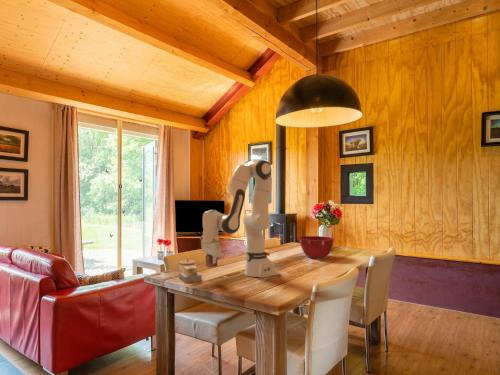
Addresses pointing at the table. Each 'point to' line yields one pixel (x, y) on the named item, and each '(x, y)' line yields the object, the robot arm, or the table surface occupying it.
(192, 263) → the lidded jar
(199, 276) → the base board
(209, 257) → the walnut block
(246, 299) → the table surface
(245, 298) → the table surface
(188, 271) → the oak block
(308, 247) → the mixing bowl
